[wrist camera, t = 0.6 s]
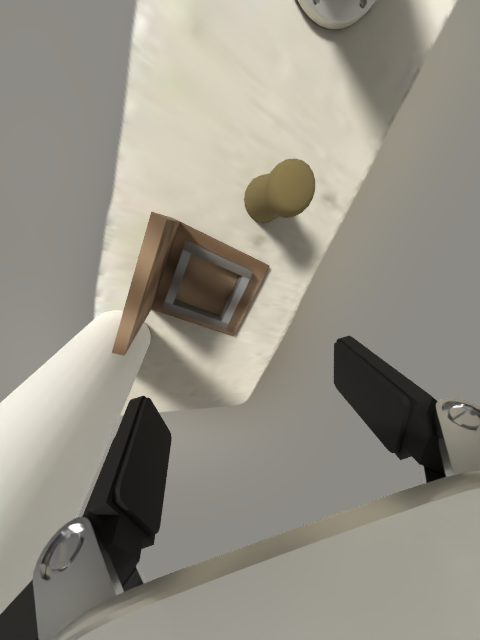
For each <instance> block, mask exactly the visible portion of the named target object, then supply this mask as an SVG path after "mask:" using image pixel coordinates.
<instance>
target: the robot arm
mask: <svg viewBox="0 0 480 640" xmlns="http://www.w3.org/2000/svg"><path fill="white" fill-rule="evenodd" d="M375 1H376V0H298V2H299V4H300V6H301V7H302V9H303V10H304V11H305V13H306V14H307V15H308V16H309V17H310V19H312V20H313V21H314V22H316V23H317V24H318V25H320V26H322V27H325V28H328V29H342V28H345V27H348V26H350V25H352V24H354V23H355V22H357V21H358V20H359V19H360V18H361V17H362V16H364V15H365V14H366V13H367V11H368V10H369V9H370V8H371V6H372V5H373V4H374V3H375ZM334 384H335V386H336V388H337V389H338V391H339V392H340V393H341V394H342V395H343V397H344V398H345V399H346V400H347V401H348V403H349V404H350V405H351V406H352V407H353V409H354V410H355V411H356V412H357V413H358V415H359V416H360V417H361V418H362V419H363V421H364V422H365V423H366V424H367V425H368V427H369V428H370V429H371V430H372V431H373V433H374V434H375V435H376V436H377V437H378V439H379V440H380V441H381V442H382V443H383V445H384V446H385V447H386V448H387V449H388V450H389V451H390V452H391V453H395V454H396V455H397V456H398V458H399V459H400V460H402V459H405V458H408V457H411V456H412V457H413V458H414V459H415V460H416V461H417V462H418V463H419V467H420V473H421V479H422V485H419V486H416V487H413V488H410V489H407V490H404V491H400V492H398V493H395V494H392V495H389V496H386V497H383V498H380V499H378V500H375V501H372V502H369V503H366V504H363V505H360V506H357V507H355V508H352V509H349V510H346V511H343V512H340V513H337V514H335V515H332V516H329V517H326V518H323V519H320V520H317V521H315V522H312V523H309V524H306V525H303V526H301V527H298V528H295V529H292V530H289V531H286V532H284V533H281V534H278V535H275V536H273V537H270V538H267V539H264V540H261V541H259V542H256V543H253V544H250V545H247V546H244V547H242V548H239V549H236V550H233V551H231V552H228V553H225V554H222V555H219V556H217V557H214V558H211V559H209V560H206V561H203V562H200V563H197V564H195V565H192V566H189V567H186V568H183V569H181V570H178V571H176V572H173V573H170V574H168V575H165V576H163V577H160V578H157V579H155V580H152V581H150V582H148V581H147V579H146V577H145V575H144V572H143V570H142V568H141V566H140V564H139V559H140V554H141V549H143V548H145V547H149V546H151V545H154V539H155V534H156V533H158V531H159V528H160V522H161V515H162V507H163V500H164V492H165V484H166V477H167V469H168V462H169V454H170V446H171V433H170V431H169V429H168V427H167V426H166V424H165V422H164V421H163V419H162V417H161V416H160V414H159V412H158V411H157V409H156V407H155V406H154V404H153V402H152V401H151V399H150V398H146V397H145V396H141V397H138V398H134V399H131V400H130V402H129V404H128V406H127V409H126V411H125V414H124V416H123V419H122V421H121V424H120V427H119V429H118V432H117V434H116V436H115V438H114V440H113V442H112V444H111V447H110V449H109V452H108V455H107V457H106V460H105V462H104V464H103V467H102V469H101V472H100V474H99V477H98V479H97V482H96V484H95V487H94V489H93V492H92V494H91V497H90V500H89V502H88V504H87V507H86V509H85V512H84V515H83V517H78V518H75V519H73V520H71V521H69V522H68V523H66V524H65V525H64V526H63V527H61V528H60V529H59V530H58V531H57V532H56V533H55V535H54V536H53V537H52V538H51V539H50V540H49V542H48V543H47V545H46V546H45V547H44V549H43V551H42V553H41V554H40V556H39V558H38V560H37V563H36V566H35V569H34V572H33V579H32V580H31V582H30V583H29V584H28V585H27V586H26V587H25V588H24V589H23V590H22V591H21V592H20V594H19V595H18V596H17V597H16V598H15V599H14V600H13V601H12V602H11V603H10V604H9V605H8V607H7V608H6V609H5V610H4V611H3V612H2V613H1V614H0V640H480V406H478V405H476V404H474V403H471V402H469V401H466V400H462V399H459V398H443V399H441V400H439V401H437V400H435V399H434V398H433V397H432V396H431V395H429V394H428V393H427V392H425V391H424V390H422V389H421V388H420V387H419V386H417V385H416V384H414V383H413V382H412V381H410V380H409V379H407V378H406V377H405V376H404V375H402V374H401V373H400V372H398V371H397V370H395V369H394V368H393V367H392V366H390V365H389V364H387V363H386V362H385V361H383V360H382V359H380V358H379V357H378V356H377V355H375V354H374V353H373V352H371V351H370V350H369V349H367V348H366V347H365V346H363V345H362V344H361V343H359V342H358V341H357V340H355V339H354V338H352V337H351V336H347V337H343V338H340V339H338V340H337V342H336V343H335V344H334Z"/></svg>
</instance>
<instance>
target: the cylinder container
mask: <svg viewBox="0 0 480 640" xmlns="http://www.w3.org/2000/svg"><path fill="white" fill-rule="evenodd" d="M122 314H123V311H108V312H105V313H102V314H101V315H99V316H98V317H96V318H95V319H94V320H93V321H92V322H91V323H90V324H89V325H87V326H86V327H85V328H84V329H83V330H82V331H81V332H79V334H77V335H76V336H75V337H74V338H73V339H72V340H70V341H69V342H68V343H67V344H66V345H65V346H64V347H63V348H62V349H60V350H59V351H58V352H57V353H56V354H55V355H54V356H53V357H51V358H50V359H49V360H48V361H47V362H46V363H45V364H44V365H43V366H41V367H40V368H39V369H38V370H37V371H36V372H35V373H33V374H32V375H31V376H30V377H29V378H28V379H27V380H26V381H25V382H23V383H22V384H21V385H20V386H19V387H18V388H17V389H15V390H14V391H13V392H12V393H11V394H10V395H9V396H8V397H6V398H5V399H4V400H3V401H2V402H1V403H0V614H1V613H2V612H3V611H4V610H5V609H6V608H7V607H8V605H9V604H10V603H11V602H12V601H13V600H14V599H15V598H16V597H17V596H18V595H19V594H20V592H21V591H22V590H23V589H24V588H25V587H26V586H27V585H28V584H29V583H30V582H31V580H32V579H33V572H34V569H35V566H36V563H37V560H38V558H39V556H40V554H41V553H42V551H43V549H44V547H45V546H46V545H47V543H48V542H49V540H50V539H51V538H52V537H53V536H54V535H55V533H56V532H57V531H58V530H59V529H60V528H61V527H63V526H64V525H65V524H66V523H68V522H69V521H71V520H73V519H75V518H77V517H78V514H79V512H80V510H81V507H82V505H83V503H84V500H85V498H86V495H87V493H88V491H89V488H90V486H91V483H92V481H93V478H94V476H95V474H96V471H97V469H98V467H99V464H100V462H101V460H102V457H103V455H104V452H105V450H106V448H107V445H108V443H109V440H110V438H111V436H112V433H113V431H114V428H115V426H116V424H117V421H118V419H119V417H120V414H121V412H122V409H123V407H124V405H125V402H126V400H127V397H128V395H129V393H130V390H131V388H132V385H133V383H134V381H135V378H136V376H137V374H138V371H139V369H140V366H141V364H142V362H143V359H144V357H145V354H146V352H147V350H148V347H149V345H150V342H151V334H150V330H149V328H148V326H147V325H146V324H145V322H144V323H143V324H142V326H141V328H140V330H139V331H138V333H137V335H136V337H135V338H134V340H133V342H132V344H131V345H130V347H129V349H128V351H127V352H126V354H125V356H123V355H119V354H115V353H112V350H113V346H114V343H115V339H116V336H117V332H118V328H119V325H120V321H121V318H122Z"/></svg>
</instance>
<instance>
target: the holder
mask: <svg viewBox="0 0 480 640" xmlns="http://www.w3.org/2000/svg"><path fill="white" fill-rule="evenodd" d="M268 268H269V265H267V264H265V263H263V262H261V261H259V260H257V259H255V258H253V257H251V256H249V255H247V254H245V253H243V252H241V251H238V250H236V249H234V248H232V247H230V246H228V245H226V244H224V243H222V242H220V241H218V240H216V239H214V238H212V237H210V236H208V235H206V234H204V233H202V232H200V231H198V230H196V229H194V228H192V227H190V226H188V225H186V224H184V223H182V222H180V221H178V220H176V219H173V218H171V217H167V216H164V215H160V214H157V213H154V212H151V215H150V219H149V222H148V226H147V229H146V233H145V236H144V240H143V244H142V247H141V251H140V254H139V258H138V261H137V265H136V268H135V272H134V275H133V279H132V282H131V286H130V290H129V293H128V297H127V300H126V304H125V307H124V311H123V314H122V318H121V321H120V325H119V328H118V332H117V336H116V339H115V343H114V346H113V350H112V353H115V354H119V355H123V356H125V354H126V352H127V351H128V349H129V347H130V345H131V344H132V342H133V340H134V338H135V337H136V335H137V333H138V331H139V330H140V328H141V326H142V324H143V323H144V321H145V319H146V318H147V316H148V314H149V312H150V311H151V309H152V310H155V311H158V312H161V313H164V314H167V315H170V316H174V317H177V318H180V319H183V320H186V321H189V322H192V323H195V324H198V325H201V326H204V327H207V328H210V329H213V330H216V331H219V332H222V333H225V334H228V335H231V336H234V335H235V333H236V331H237V329H238V327H239V325H240V323H241V321H242V319H243V317H244V315H245V313H246V311H247V309H248V307H249V305H250V303H251V301H252V299H253V297H254V295H255V293H256V291H257V289H258V287H259V285H260V283H261V282H262V280H263V278H264V276H265V274H266V272H267V270H268Z"/></svg>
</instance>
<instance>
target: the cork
mask: <svg viewBox="0 0 480 640" xmlns="http://www.w3.org/2000/svg"><path fill="white" fill-rule="evenodd" d="M314 191H315V178H314V174H313V172H312V170H311V168H310V167H309V165H308V164H306V163H305V162H304V161H302V160H299V159H288V160H285V161H283V162H281V163H279V164H278V165H277V166H276V167H275V168H274V169H273V170H272V171H271V173H270V174H266V175H261V176H258V177H257V178H255V179H253V180H252V182H251V183H250V184H249V185H248V187H247V189H246V192H245V198H244V201H245V207H246V210H247V212H248V214H249V215H250V216H251V218H252V219H254V220H256V221H257V222H262V223H265V222H270V221H271V220H273V219H275V218H277V217H279V216H281V217H293V216H296V215H298V214H300V213H302V212H303V211H304V210H305V209H306V208H307V207H308V206H309V204H310V202H311V200H312V199H313V195H314Z"/></svg>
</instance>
